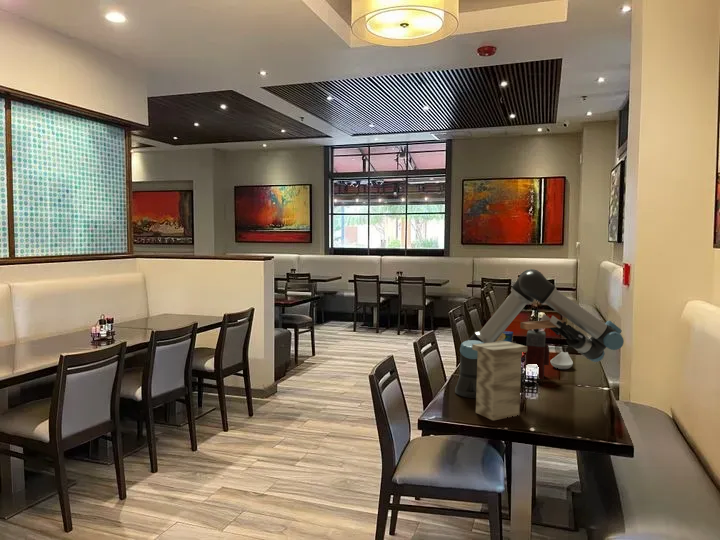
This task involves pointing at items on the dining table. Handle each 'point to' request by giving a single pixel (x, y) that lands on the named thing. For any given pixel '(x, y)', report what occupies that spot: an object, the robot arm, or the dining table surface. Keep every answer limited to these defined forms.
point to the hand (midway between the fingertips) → (547, 317)
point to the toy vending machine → (537, 350)
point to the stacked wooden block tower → (498, 379)
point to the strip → (537, 324)
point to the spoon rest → (562, 361)
